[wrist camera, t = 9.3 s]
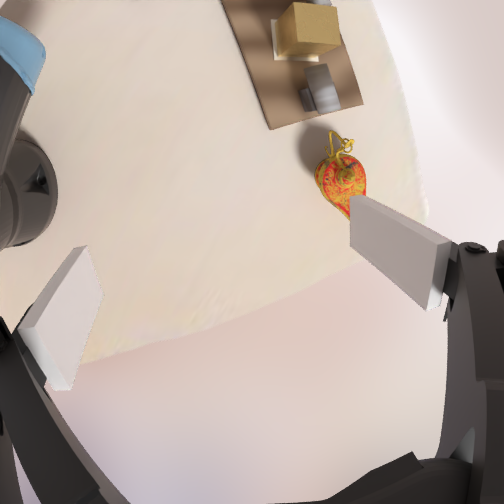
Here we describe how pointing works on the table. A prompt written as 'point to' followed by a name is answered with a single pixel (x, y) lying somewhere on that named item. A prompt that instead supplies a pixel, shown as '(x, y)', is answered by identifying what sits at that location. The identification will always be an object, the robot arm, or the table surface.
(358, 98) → the shaft bench
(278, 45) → the block
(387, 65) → the table surface
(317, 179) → the magic lamp
